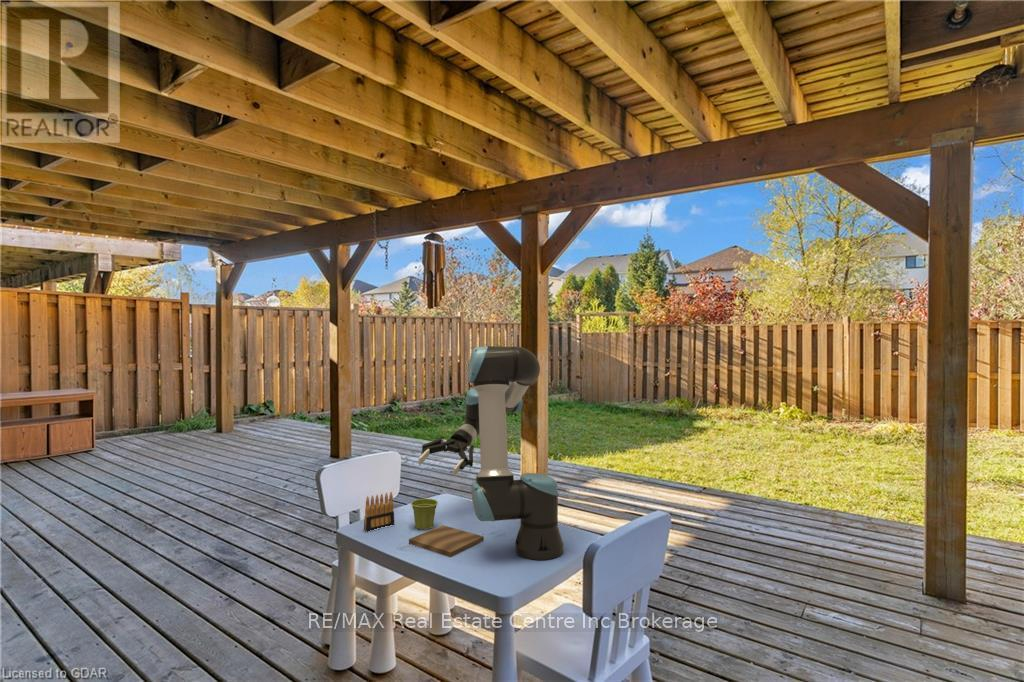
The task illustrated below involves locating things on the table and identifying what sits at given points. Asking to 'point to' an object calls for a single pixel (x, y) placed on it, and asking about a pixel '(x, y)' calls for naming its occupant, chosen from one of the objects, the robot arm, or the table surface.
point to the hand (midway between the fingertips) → (436, 466)
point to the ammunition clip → (378, 513)
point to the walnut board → (446, 540)
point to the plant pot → (424, 513)
